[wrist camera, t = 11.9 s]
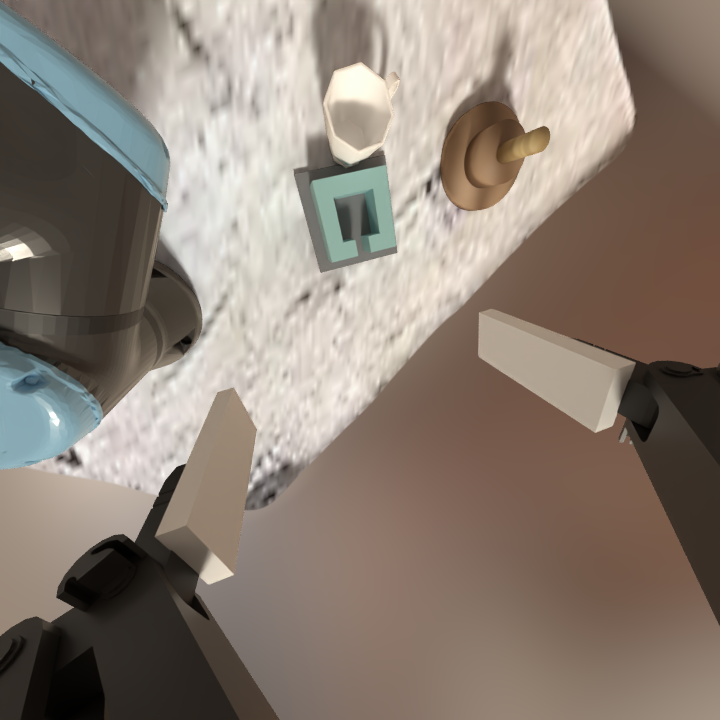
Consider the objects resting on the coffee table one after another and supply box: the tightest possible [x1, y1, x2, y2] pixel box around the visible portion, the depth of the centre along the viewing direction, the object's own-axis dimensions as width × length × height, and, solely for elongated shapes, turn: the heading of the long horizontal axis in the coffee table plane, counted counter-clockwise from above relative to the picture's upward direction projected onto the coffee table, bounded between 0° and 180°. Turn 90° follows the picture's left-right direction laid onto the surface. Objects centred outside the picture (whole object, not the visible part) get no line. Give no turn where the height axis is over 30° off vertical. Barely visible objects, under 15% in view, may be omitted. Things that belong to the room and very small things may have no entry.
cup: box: [323, 62, 400, 168], centre depth 28 cm, size 7×10×8 cm
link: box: [310, 165, 396, 263], centre depth 34 cm, size 9×9×4 cm
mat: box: [294, 155, 397, 273], centre depth 36 cm, size 12×12×1 cm
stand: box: [440, 102, 550, 211], centre depth 32 cm, size 12×12×10 cm
